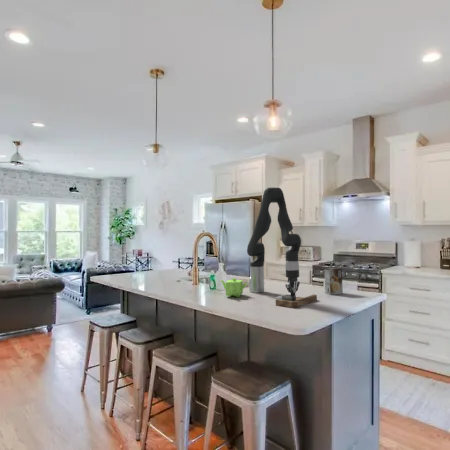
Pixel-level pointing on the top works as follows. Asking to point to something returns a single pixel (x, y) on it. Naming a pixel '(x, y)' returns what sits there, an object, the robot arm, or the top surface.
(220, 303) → the top surface
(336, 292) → the coffee box
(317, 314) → the top surface
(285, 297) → the clip
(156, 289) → the top surface
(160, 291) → the top surface
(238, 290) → the kettle
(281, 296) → the grey concrete tile
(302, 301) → the wooden tray
